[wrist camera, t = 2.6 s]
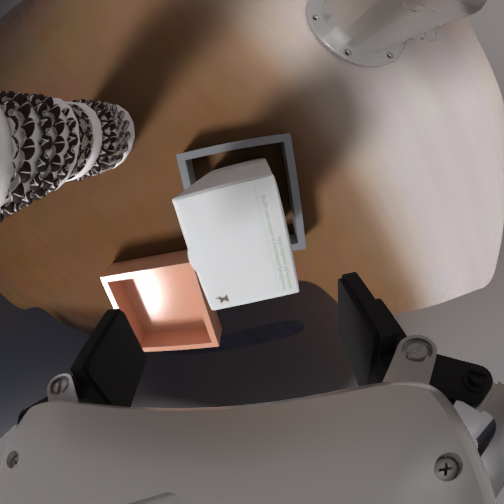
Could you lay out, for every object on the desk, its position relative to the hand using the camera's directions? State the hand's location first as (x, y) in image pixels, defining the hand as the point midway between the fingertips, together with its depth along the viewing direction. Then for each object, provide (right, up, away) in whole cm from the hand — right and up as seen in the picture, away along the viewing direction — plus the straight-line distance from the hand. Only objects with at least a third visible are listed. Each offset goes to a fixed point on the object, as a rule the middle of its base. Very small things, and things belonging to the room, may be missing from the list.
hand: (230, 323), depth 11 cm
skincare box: (0, +9, +20) cm, 22 cm away
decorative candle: (-17, +17, +16) cm, 29 cm away
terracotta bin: (-11, -3, +25) cm, 28 cm away
